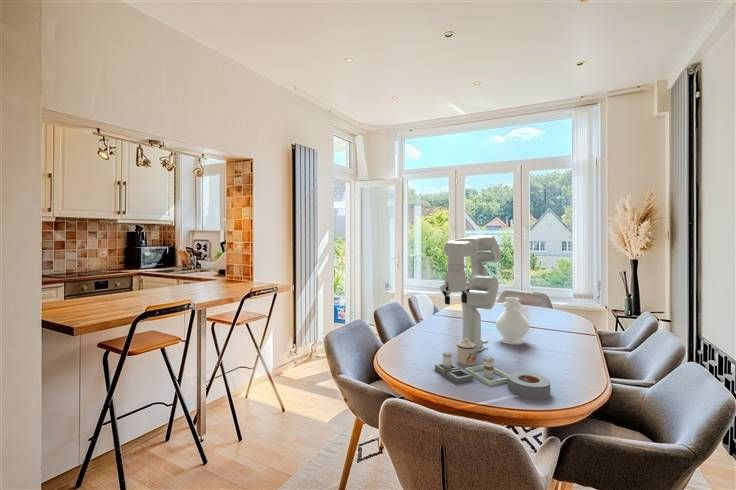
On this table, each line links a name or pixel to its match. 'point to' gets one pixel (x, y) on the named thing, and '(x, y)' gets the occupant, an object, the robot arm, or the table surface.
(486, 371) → the fuse
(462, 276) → the robot arm
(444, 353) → the cylinder
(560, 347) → the table surface
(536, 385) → the tape roll
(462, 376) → the fuse holder
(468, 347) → the teacup with lid
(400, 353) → the table surface
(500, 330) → the decorative vase
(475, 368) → the parts tray
